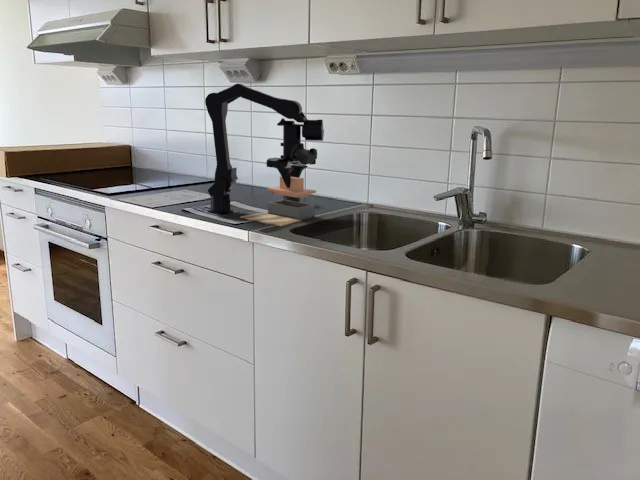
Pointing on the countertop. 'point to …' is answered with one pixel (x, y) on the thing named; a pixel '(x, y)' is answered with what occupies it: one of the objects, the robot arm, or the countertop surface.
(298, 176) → the robot arm
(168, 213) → the countertop surface
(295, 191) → the lid
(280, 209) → the storage box
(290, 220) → the light wood flat board
